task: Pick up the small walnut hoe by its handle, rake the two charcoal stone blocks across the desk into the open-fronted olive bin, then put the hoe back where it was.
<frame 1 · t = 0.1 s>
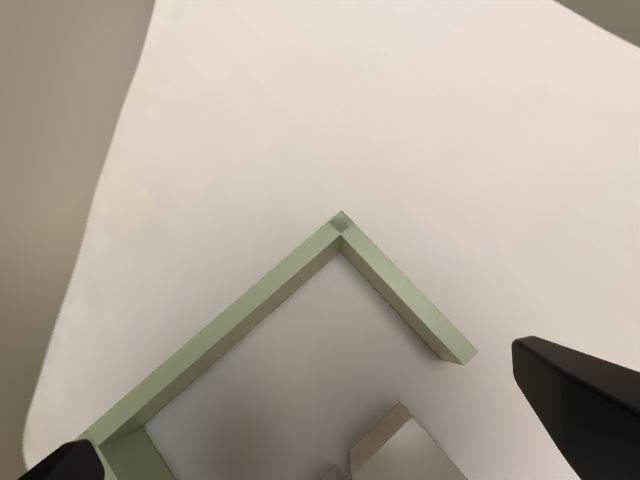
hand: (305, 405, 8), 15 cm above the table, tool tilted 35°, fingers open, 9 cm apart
bin: (286, 386, 22), on the table
stone block b: (399, 455, 20), on the table
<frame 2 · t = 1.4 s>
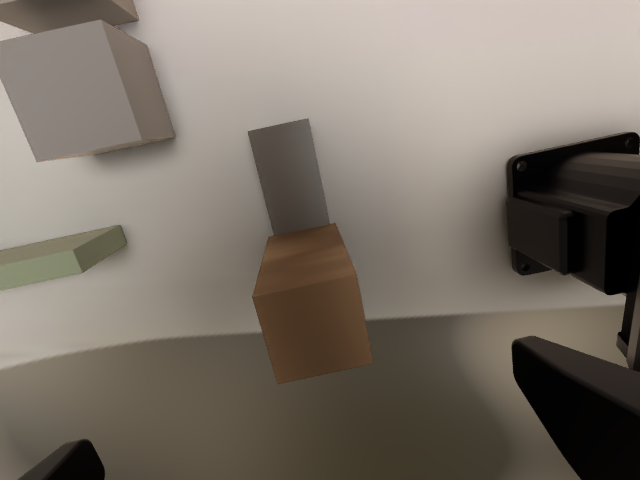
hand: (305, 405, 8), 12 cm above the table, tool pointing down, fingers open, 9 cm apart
stone block a: (120, 102, 17), on the table
hoe: (307, 241, 19), on the table
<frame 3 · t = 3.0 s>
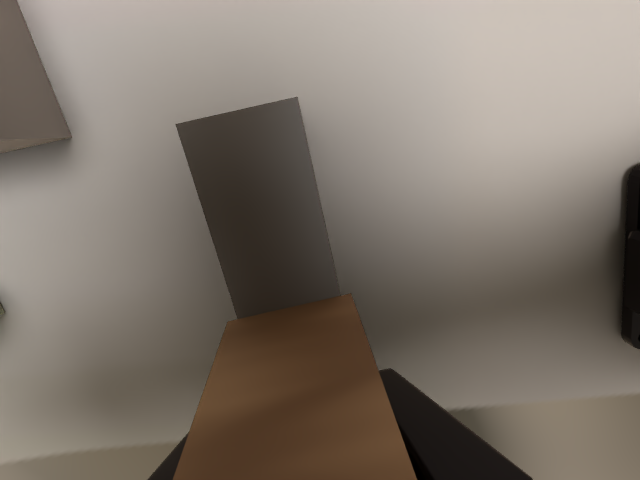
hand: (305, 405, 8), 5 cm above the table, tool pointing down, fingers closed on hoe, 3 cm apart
hoe: (301, 304, 12), on the table, touching gripper
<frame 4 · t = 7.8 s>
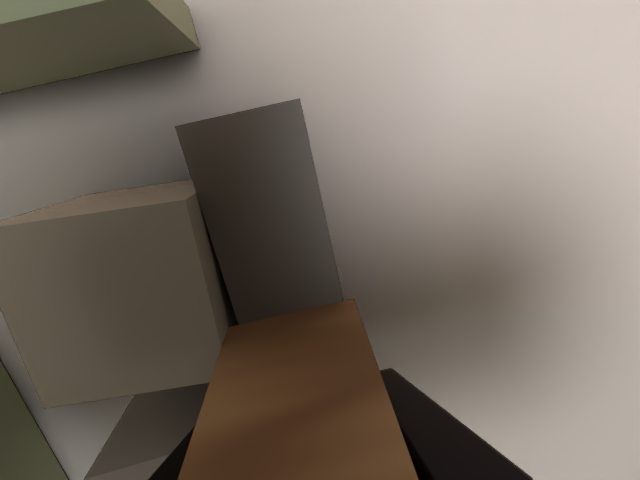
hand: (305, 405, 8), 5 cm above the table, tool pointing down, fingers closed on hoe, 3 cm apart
bin: (127, 346, 12), on the table
stone block a: (227, 400, 13), on the table, touching hoe
hoe: (302, 308, 12), on the table, touching gripper, stone block a, stone block b
stone block b: (173, 249, 11), on the table, touching hoe
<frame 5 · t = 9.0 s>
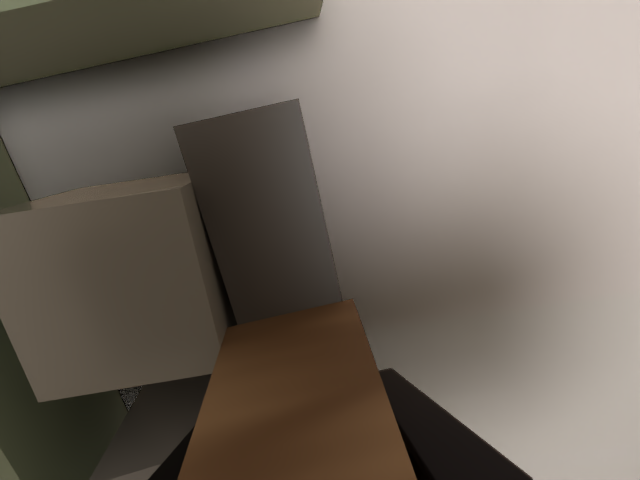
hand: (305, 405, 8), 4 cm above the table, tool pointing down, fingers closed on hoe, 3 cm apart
bin: (220, 324, 12), on the table
stone block a: (226, 404, 13), on the table, touching hoe
hoe: (301, 308, 12), on the table, touching gripper, stone block a, stone block b
stone block b: (169, 243, 11), on the table, touching hoe
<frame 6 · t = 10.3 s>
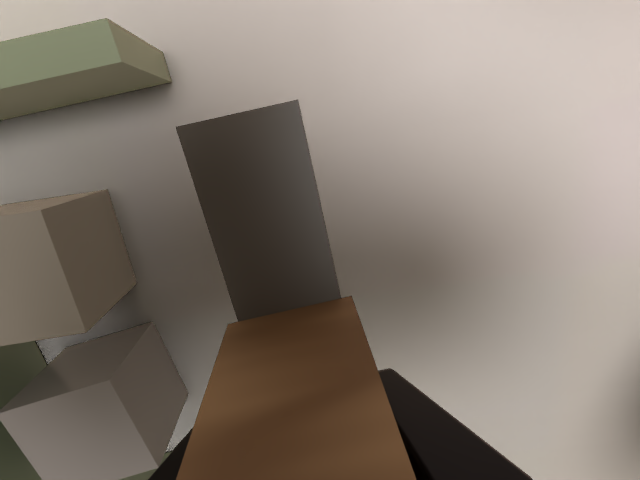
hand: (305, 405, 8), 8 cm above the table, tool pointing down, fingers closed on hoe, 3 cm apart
bin: (119, 306, 15), on the table
stone block a: (130, 370, 16), on the table
hoe: (301, 306, 12), point 4 cm above the table, touching gripper
stone block b: (74, 245, 15), on the table
when the fingers open (5 cm above the table, at t = 13.0 s): hoe drops 1 cm, on the table.
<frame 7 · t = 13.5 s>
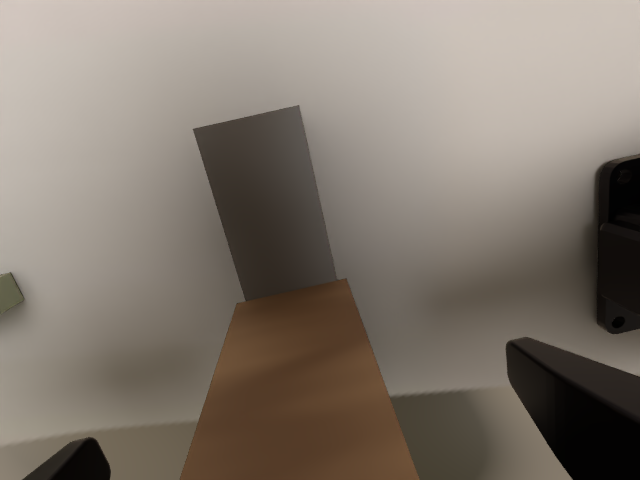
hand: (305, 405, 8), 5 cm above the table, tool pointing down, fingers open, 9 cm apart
hoe: (301, 292, 13), on the table
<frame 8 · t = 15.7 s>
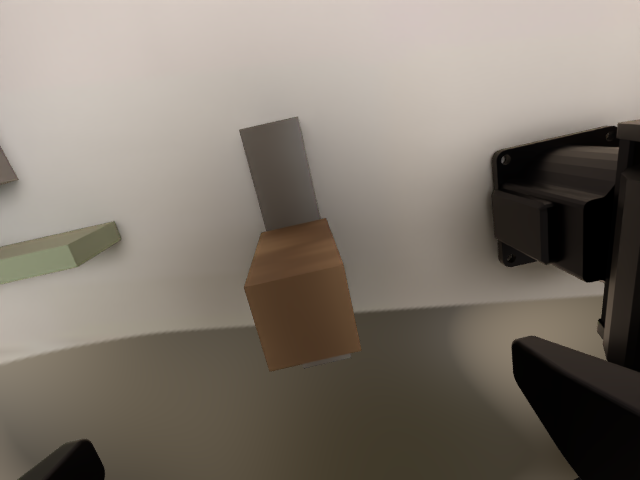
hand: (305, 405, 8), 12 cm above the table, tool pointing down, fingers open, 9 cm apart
hoe: (299, 237, 20), on the table
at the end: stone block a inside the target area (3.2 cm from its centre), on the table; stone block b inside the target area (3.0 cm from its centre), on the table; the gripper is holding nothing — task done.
